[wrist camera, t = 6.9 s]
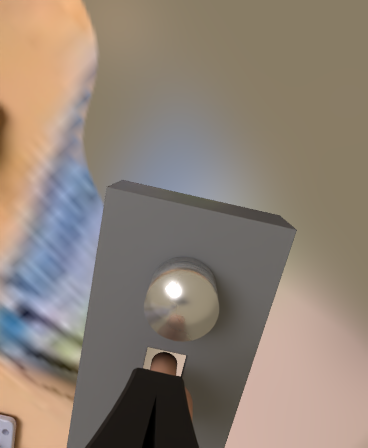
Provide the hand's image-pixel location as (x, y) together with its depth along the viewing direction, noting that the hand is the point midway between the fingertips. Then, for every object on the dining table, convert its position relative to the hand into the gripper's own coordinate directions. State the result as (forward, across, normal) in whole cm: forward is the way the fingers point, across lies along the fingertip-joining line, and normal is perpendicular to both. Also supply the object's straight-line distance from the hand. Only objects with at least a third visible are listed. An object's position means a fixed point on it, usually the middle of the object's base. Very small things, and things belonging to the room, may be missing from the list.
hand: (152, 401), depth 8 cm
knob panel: (+10, -1, +5) cm, 11 cm away
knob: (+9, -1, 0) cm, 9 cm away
